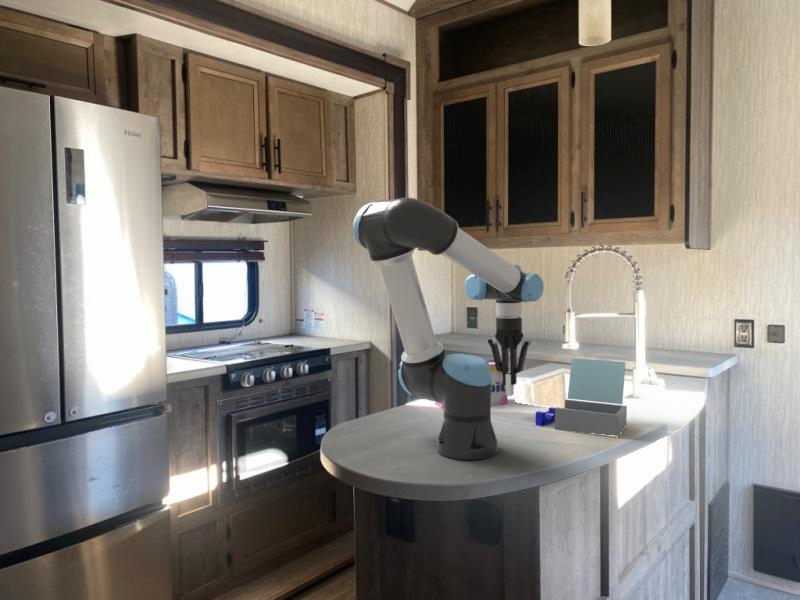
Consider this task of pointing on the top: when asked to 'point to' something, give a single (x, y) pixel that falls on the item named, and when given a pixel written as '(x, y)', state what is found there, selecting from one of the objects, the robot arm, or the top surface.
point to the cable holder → (545, 417)
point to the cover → (596, 380)
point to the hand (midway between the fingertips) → (509, 394)
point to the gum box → (494, 387)
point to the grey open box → (591, 417)
